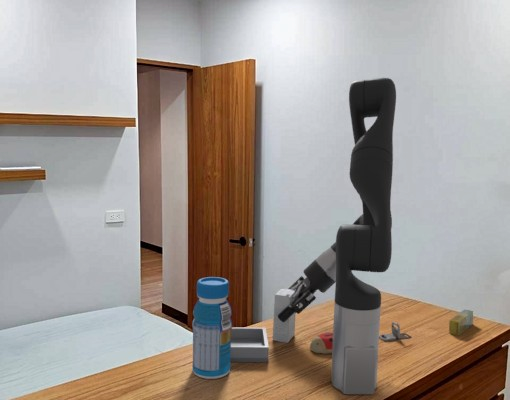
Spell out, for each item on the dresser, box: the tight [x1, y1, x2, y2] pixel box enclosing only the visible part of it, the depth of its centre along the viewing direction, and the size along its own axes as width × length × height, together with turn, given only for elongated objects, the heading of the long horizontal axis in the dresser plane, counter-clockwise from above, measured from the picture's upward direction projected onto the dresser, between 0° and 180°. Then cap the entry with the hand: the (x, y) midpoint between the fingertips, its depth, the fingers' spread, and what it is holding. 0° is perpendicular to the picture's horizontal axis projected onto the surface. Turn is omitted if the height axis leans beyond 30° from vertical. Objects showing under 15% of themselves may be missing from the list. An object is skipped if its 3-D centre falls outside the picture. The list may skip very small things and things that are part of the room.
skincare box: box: [272, 288, 297, 344], centre depth 124 cm, size 6×4×12 cm
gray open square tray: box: [230, 326, 270, 363], centre depth 116 cm, size 12×12×4 cm
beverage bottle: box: [191, 276, 233, 380], centre depth 104 cm, size 8×8×20 cm
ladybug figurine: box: [309, 332, 333, 355], centre depth 119 cm, size 7×10×4 cm
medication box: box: [448, 309, 474, 337], centre depth 134 cm, size 12×3×4 cm, turn 139°
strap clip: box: [379, 321, 412, 342], centre depth 127 cm, size 8×3×4 cm, turn 111°
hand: (278, 314), depth 124 cm, fingers closed on skincare box, 7 cm apart
